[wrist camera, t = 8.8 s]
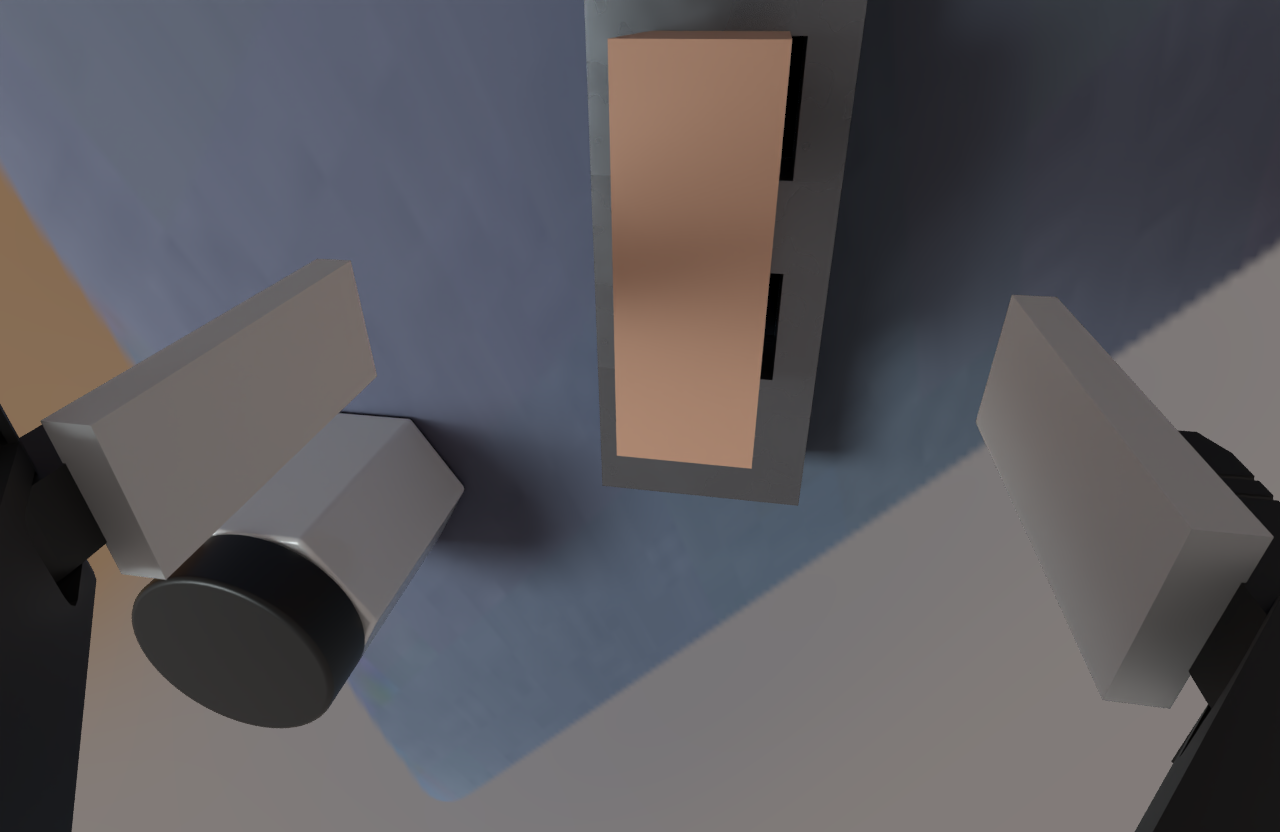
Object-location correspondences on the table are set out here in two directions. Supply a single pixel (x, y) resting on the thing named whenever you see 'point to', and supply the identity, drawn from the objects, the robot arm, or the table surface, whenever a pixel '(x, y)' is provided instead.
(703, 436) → the orange tan block
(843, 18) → the grey slotted block
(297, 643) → the jar
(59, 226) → the table surface
